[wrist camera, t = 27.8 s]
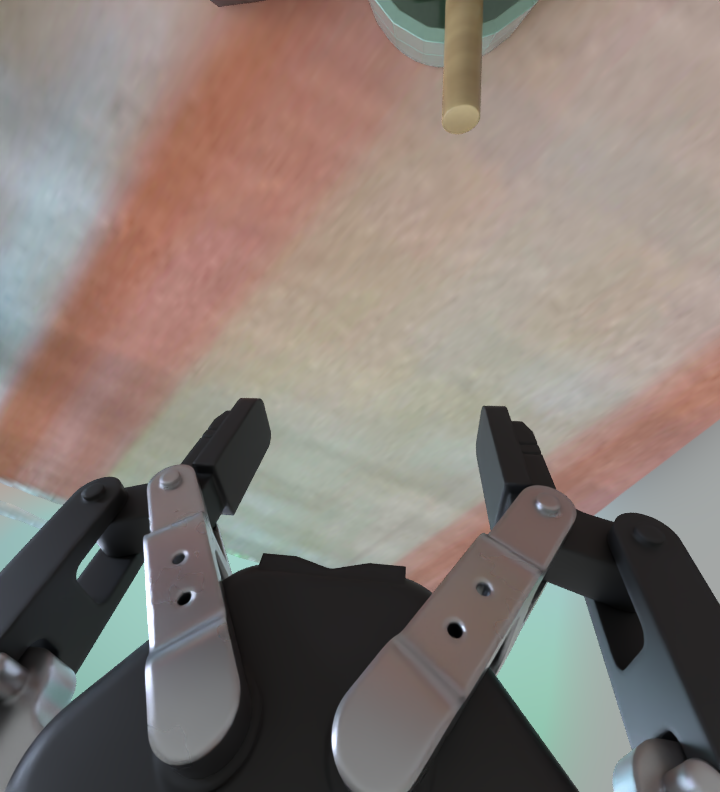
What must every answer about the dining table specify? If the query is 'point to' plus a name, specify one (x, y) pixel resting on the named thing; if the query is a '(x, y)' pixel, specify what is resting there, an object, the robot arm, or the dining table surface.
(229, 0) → the stand
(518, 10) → the pot
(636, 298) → the dining table surface
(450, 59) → the rice paddle
